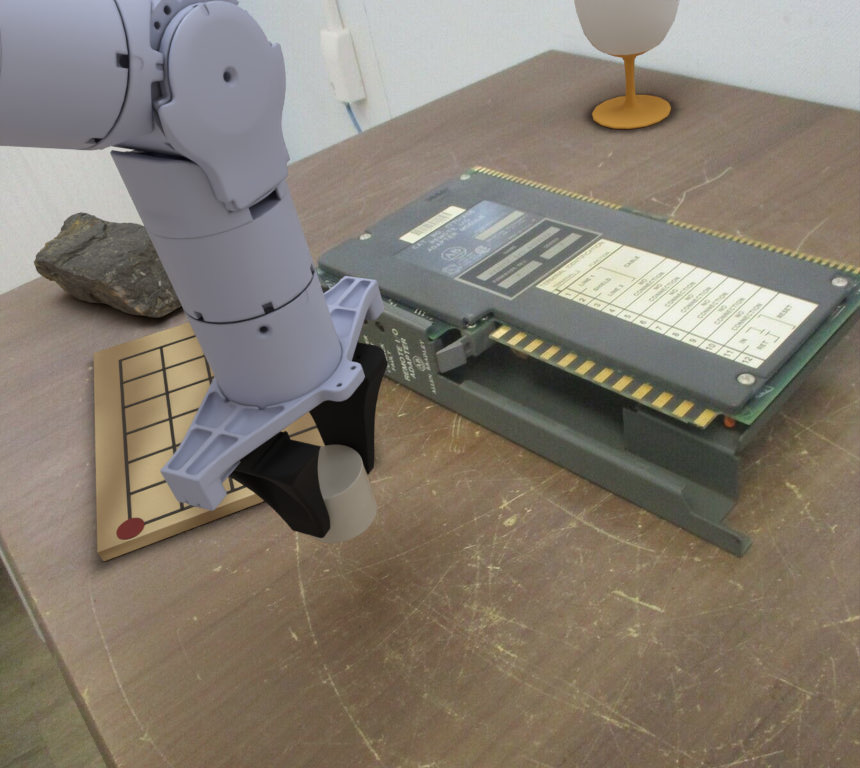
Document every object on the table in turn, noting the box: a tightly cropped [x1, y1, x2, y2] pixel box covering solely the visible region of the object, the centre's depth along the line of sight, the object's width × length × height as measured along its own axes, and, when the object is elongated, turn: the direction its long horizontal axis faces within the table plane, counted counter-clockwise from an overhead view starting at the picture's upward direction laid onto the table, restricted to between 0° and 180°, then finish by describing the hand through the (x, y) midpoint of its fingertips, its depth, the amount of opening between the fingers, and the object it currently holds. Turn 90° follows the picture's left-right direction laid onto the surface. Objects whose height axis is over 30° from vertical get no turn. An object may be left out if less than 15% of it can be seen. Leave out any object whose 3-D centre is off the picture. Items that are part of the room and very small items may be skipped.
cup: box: [573, 0, 680, 130], centre depth 91 cm, size 12×12×17 cm
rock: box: [33, 211, 182, 318], centre depth 78 cm, size 17×7×10 cm
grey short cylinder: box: [309, 445, 378, 544], centre depth 44 cm, size 4×4×3 cm
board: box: [93, 321, 325, 562], centre depth 65 cm, size 18×24×1 cm
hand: (333, 497), depth 44 cm, fingers closed on grey short cylinder, 4 cm apart
